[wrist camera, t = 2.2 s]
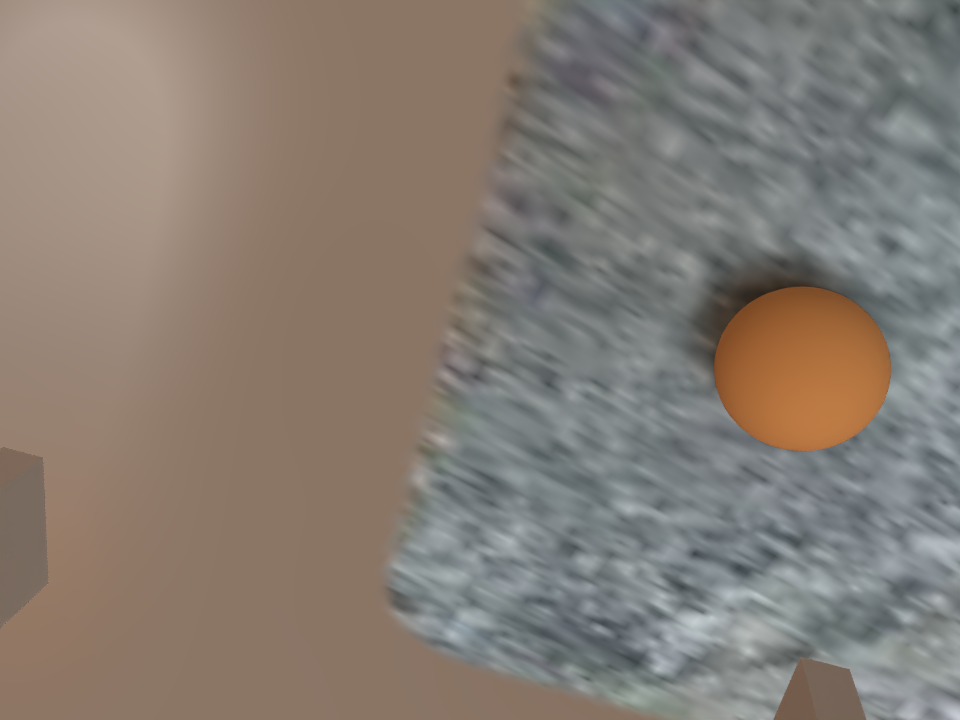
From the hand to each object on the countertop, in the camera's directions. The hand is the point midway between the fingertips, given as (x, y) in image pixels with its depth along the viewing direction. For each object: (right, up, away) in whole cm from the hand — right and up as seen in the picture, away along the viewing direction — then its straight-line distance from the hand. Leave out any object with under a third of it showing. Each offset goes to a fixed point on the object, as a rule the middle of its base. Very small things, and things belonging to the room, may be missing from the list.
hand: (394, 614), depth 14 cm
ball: (+12, +4, +13) cm, 19 cm away
